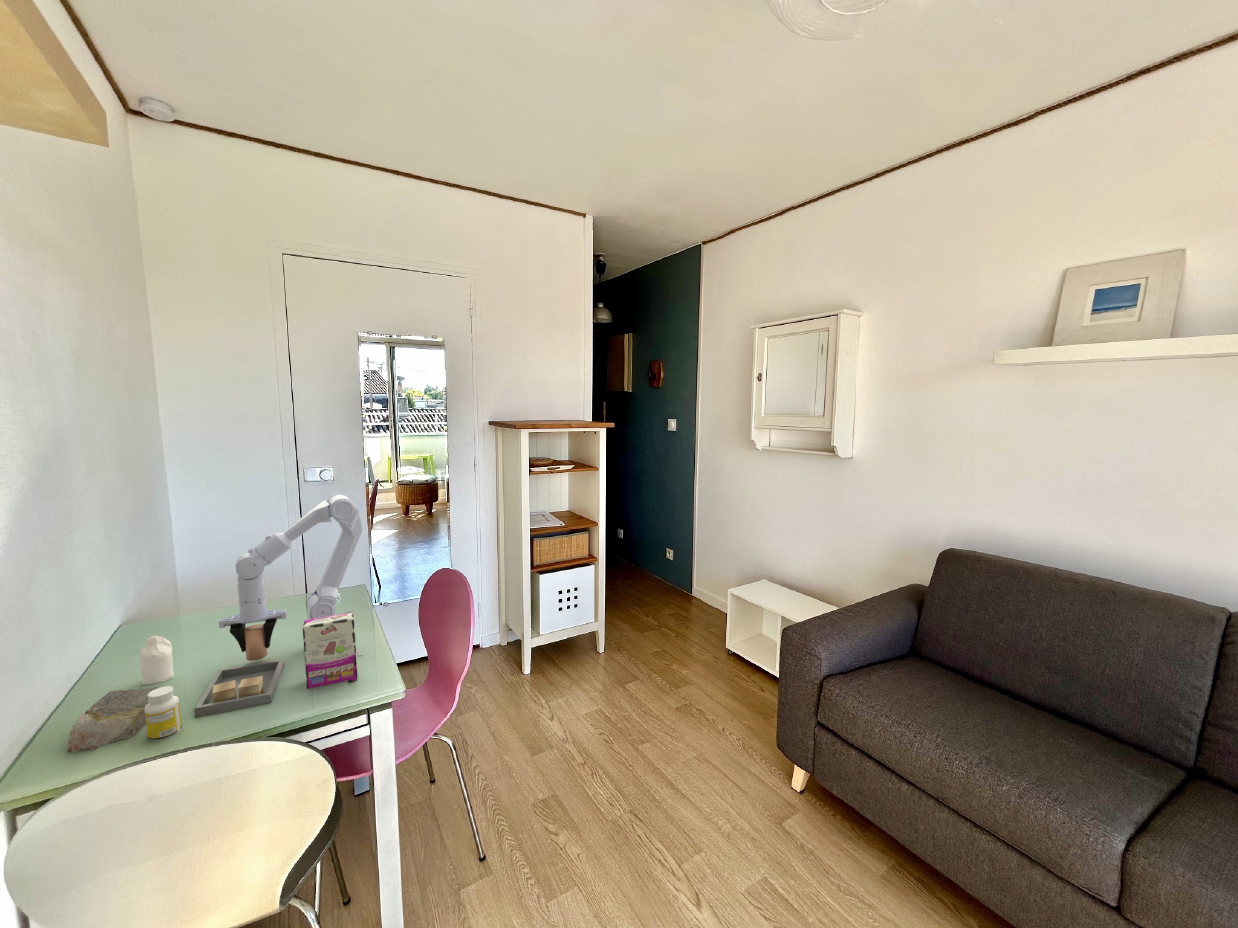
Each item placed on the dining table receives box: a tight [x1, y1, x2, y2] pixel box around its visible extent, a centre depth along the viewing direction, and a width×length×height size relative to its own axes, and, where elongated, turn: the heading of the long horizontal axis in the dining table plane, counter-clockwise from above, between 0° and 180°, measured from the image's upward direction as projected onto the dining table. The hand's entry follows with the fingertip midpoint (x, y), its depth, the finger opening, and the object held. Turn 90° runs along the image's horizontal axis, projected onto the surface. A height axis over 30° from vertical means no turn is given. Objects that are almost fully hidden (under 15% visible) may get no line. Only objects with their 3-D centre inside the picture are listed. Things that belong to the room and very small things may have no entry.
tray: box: [194, 658, 286, 718], centre depth 123 cm, size 14×18×3 cm
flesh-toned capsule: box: [244, 623, 268, 662], centre depth 135 cm, size 5×5×8 cm
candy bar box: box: [302, 611, 359, 690], centre depth 128 cm, size 11×5×16 cm, turn 117°
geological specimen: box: [66, 686, 162, 753], centre depth 110 cm, size 11×6×15 cm
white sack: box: [139, 635, 175, 686], centre depth 127 cm, size 6×12×6 cm
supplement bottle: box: [145, 685, 183, 742], centre depth 106 cm, size 5×5×10 cm
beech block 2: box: [238, 676, 264, 698], centre depth 120 cm, size 4×4×4 cm
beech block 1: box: [212, 680, 237, 703], centre depth 117 cm, size 4×4×4 cm
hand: (256, 648), depth 135 cm, fingers closed on flesh-toned capsule, 5 cm apart
